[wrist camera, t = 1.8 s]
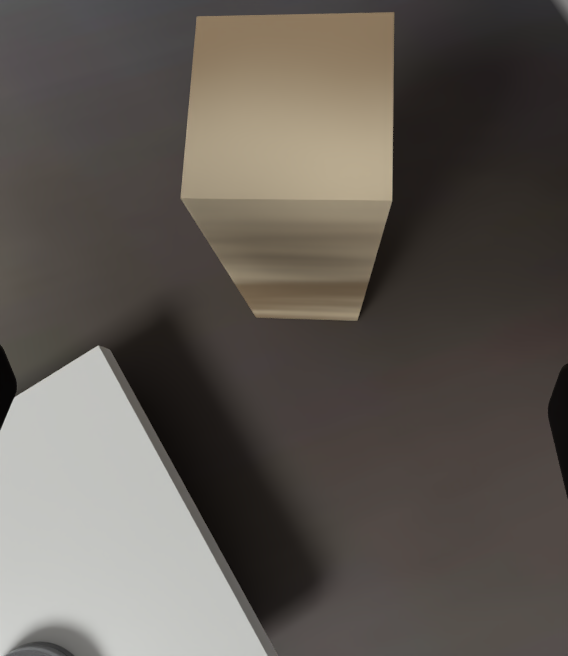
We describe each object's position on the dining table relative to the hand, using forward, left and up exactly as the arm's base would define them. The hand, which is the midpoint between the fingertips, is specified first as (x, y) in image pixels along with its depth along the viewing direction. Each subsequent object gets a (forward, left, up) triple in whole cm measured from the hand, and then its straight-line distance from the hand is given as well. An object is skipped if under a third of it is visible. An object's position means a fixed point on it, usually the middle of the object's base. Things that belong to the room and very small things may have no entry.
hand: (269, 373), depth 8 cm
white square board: (-1, +10, -12) cm, 15 cm away
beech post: (+4, -3, -12) cm, 13 cm away
